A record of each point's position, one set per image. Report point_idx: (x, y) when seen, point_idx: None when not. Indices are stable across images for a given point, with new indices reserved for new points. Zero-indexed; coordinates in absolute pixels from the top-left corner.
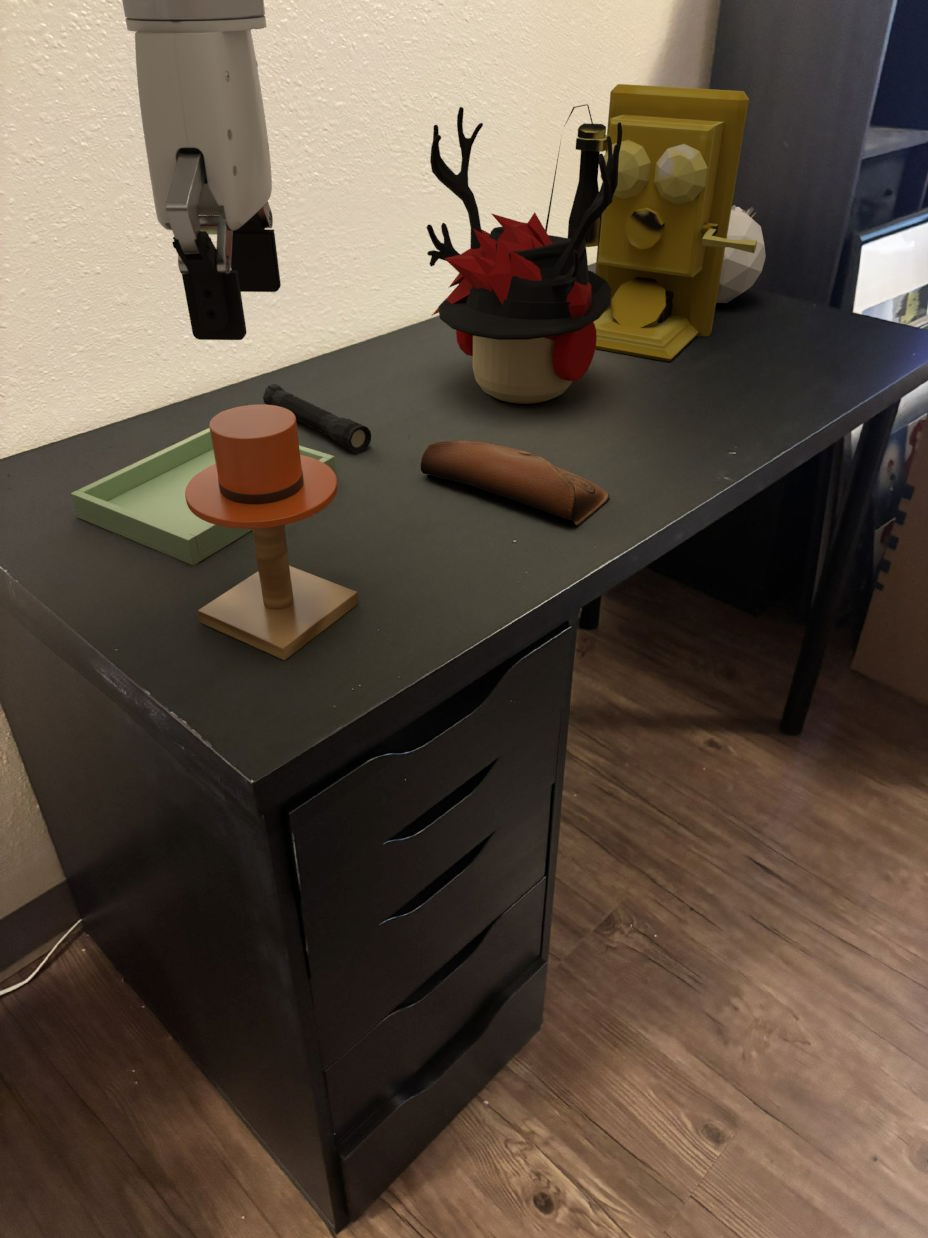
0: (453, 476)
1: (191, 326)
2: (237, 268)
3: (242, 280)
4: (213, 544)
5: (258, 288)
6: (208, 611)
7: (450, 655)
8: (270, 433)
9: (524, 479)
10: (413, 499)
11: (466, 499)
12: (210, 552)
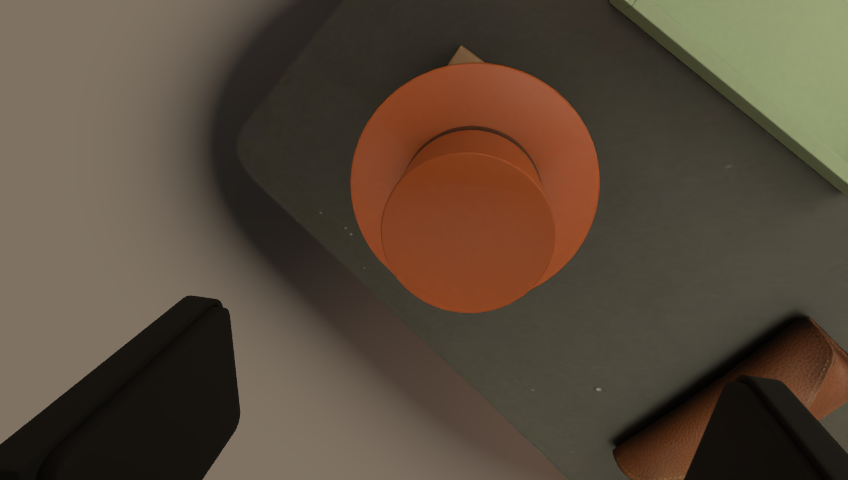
0: (755, 357)
1: (168, 310)
2: (767, 464)
3: (736, 432)
4: (646, 28)
5: (703, 452)
6: (457, 61)
7: (396, 312)
8: (404, 275)
9: (682, 440)
10: (735, 296)
11: (715, 355)
12: (636, 23)
